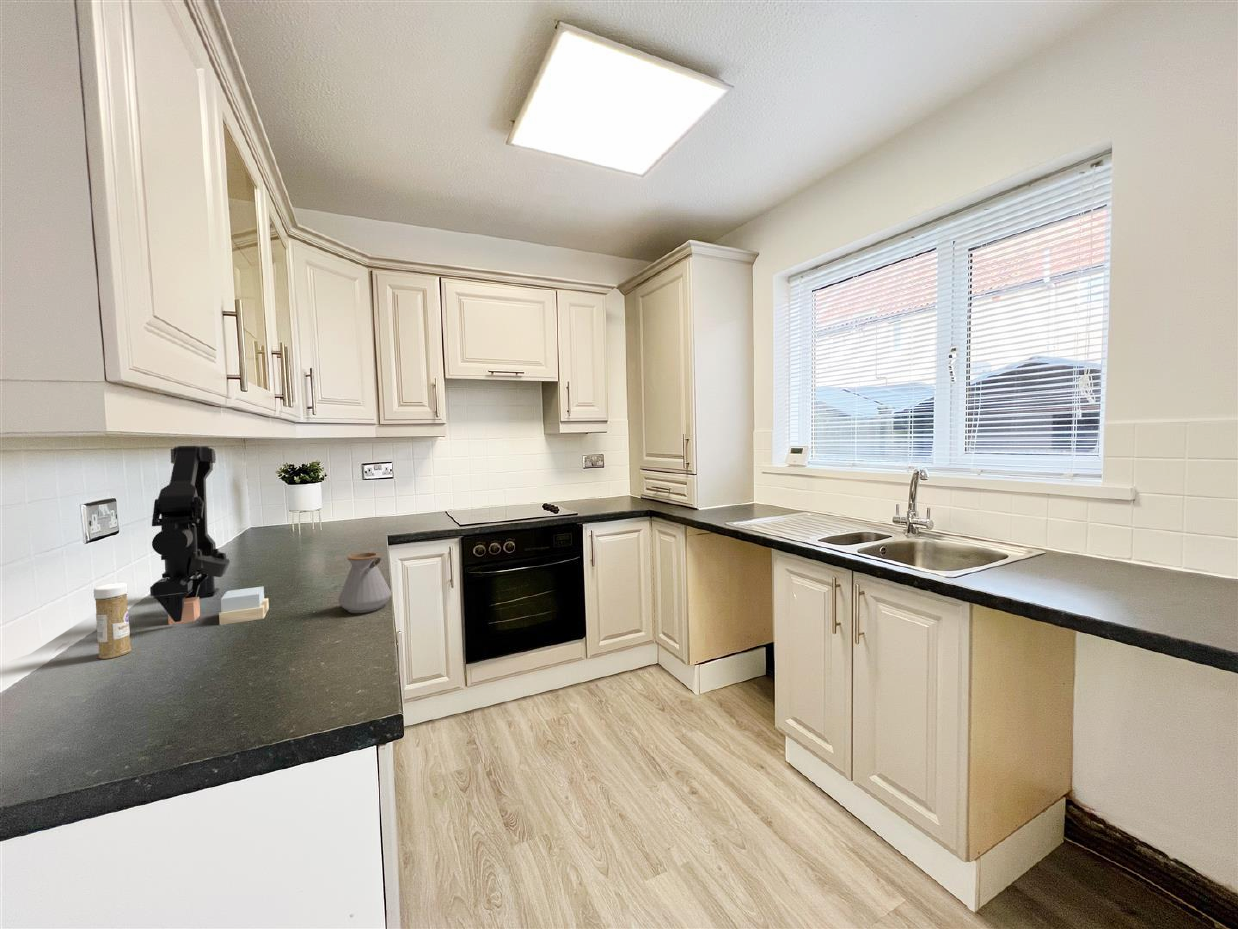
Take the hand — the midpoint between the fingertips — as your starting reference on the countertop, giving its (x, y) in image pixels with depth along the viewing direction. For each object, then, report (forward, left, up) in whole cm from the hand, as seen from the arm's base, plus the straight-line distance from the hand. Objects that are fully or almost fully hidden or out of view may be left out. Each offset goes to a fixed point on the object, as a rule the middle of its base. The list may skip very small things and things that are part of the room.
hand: (184, 615), depth 115 cm
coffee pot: (+16, +38, -1) cm, 41 cm away
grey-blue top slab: (+4, +12, +2) cm, 12 cm away
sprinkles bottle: (+18, -6, -1) cm, 19 cm away
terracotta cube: (0, 0, -1) cm, 1 cm away
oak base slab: (+4, +12, -2) cm, 13 cm away
